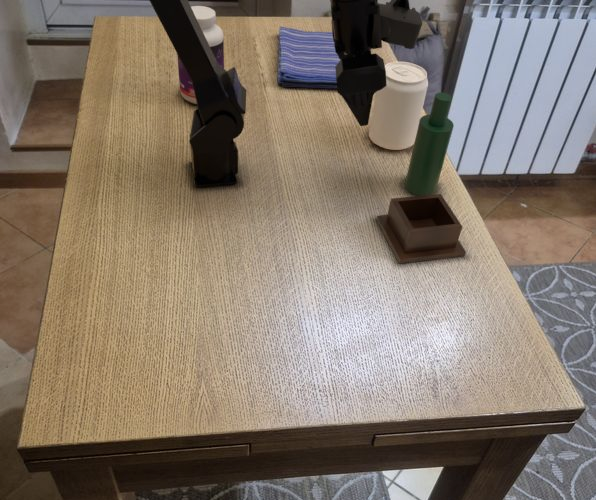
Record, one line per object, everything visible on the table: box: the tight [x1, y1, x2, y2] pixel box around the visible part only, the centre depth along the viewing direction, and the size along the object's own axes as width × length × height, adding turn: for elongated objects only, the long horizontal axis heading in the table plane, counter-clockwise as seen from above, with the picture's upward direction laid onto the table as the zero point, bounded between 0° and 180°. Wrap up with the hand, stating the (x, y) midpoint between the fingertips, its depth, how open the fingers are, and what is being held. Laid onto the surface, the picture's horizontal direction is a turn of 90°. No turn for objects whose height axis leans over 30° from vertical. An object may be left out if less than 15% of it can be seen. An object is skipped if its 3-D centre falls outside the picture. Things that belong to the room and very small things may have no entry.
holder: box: [375, 193, 467, 265], centre depth 88 cm, size 10×10×4 cm
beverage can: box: [368, 61, 429, 151], centre depth 102 cm, size 8×8×12 cm
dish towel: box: [277, 26, 340, 90], centre depth 123 cm, size 17×24×3 cm
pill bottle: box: [176, 5, 225, 105], centre depth 107 cm, size 8×8×14 cm
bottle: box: [404, 92, 455, 196], centre depth 93 cm, size 5×5×15 cm
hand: (361, 108), depth 89 cm, fingers open, 9 cm apart
